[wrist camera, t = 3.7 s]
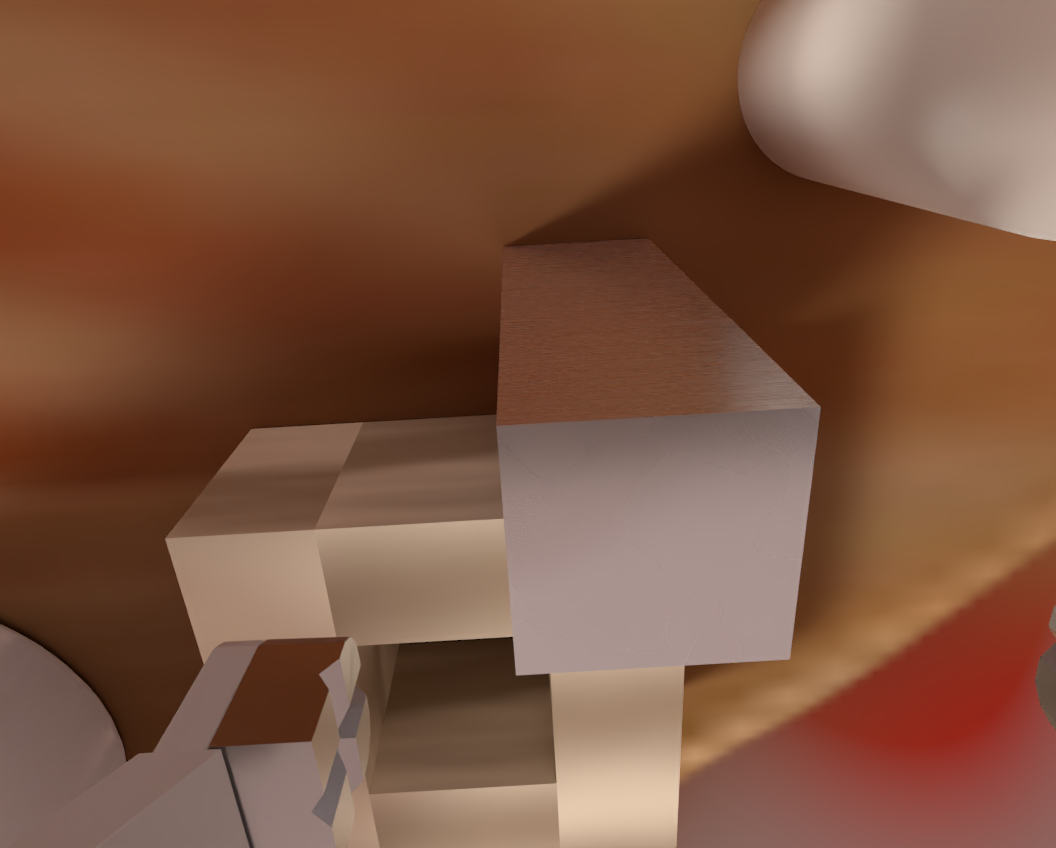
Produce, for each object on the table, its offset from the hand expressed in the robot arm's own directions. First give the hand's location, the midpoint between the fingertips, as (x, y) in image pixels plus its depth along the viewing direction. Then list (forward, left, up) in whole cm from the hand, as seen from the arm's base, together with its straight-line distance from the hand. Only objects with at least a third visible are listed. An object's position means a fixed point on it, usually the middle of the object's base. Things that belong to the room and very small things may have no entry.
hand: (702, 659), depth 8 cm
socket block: (+8, -4, -14) cm, 17 cm away
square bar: (-1, 0, -14) cm, 14 cm away
